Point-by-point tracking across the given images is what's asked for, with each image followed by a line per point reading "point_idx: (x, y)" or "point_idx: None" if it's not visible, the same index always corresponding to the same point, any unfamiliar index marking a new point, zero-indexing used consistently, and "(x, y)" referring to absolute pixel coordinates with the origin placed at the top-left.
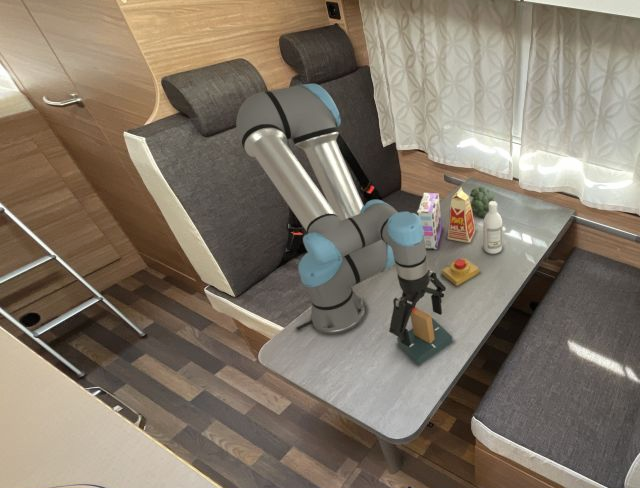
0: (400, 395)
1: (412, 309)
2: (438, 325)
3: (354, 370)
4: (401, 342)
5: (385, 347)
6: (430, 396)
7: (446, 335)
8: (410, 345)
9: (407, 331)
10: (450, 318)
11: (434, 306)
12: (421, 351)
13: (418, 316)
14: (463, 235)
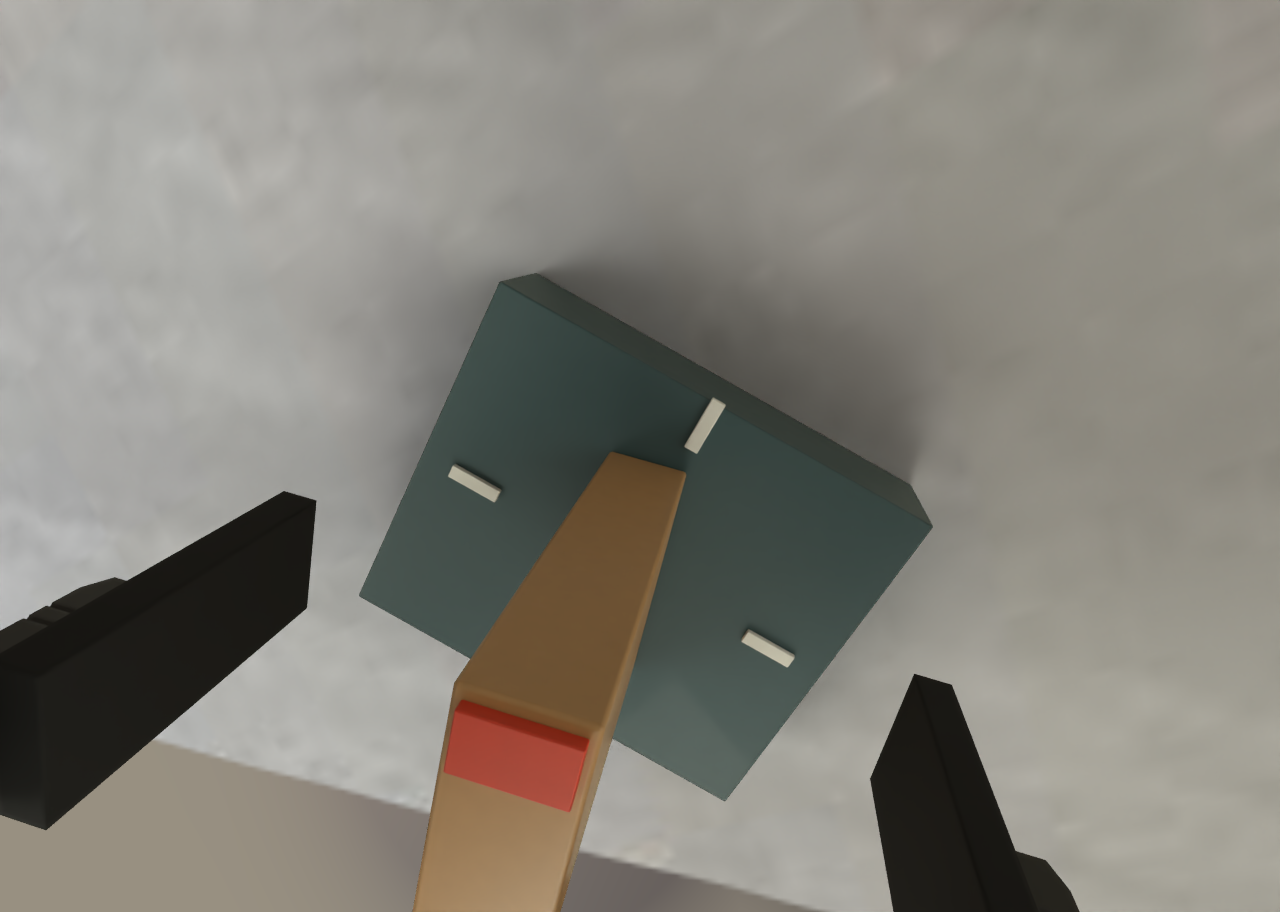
0: (137, 530)
1: (498, 743)
2: (824, 645)
3: (115, 8)
4: (278, 499)
5: (459, 155)
6: (231, 722)
7: (713, 757)
8: (465, 478)
9: (75, 795)
10: (1032, 635)
11: (925, 798)
12: (450, 602)
13: (425, 856)
14: None
